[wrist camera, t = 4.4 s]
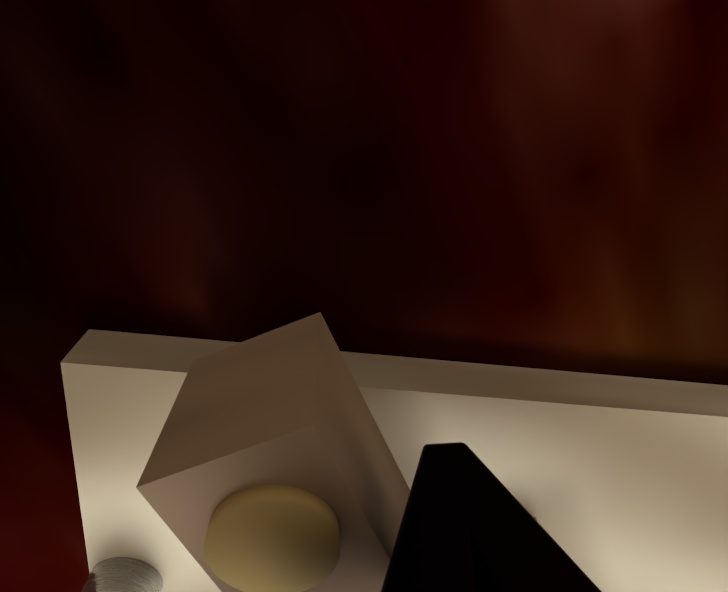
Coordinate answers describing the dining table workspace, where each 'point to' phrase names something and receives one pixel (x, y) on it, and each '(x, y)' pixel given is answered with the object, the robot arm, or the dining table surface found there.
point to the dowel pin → (123, 576)
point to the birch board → (446, 425)
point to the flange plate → (278, 468)
